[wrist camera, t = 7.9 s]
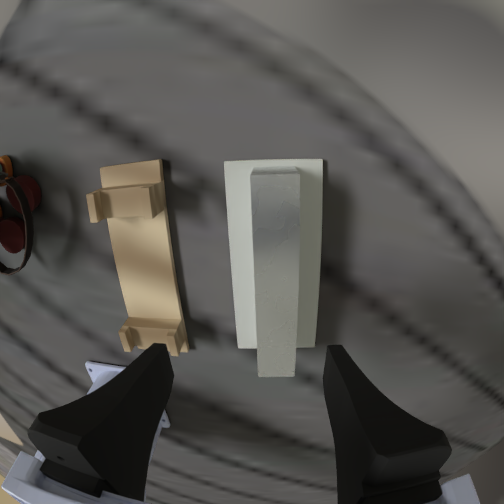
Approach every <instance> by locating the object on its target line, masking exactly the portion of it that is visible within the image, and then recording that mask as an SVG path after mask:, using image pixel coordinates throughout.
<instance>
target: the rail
mask: <svg viewBox="0 0 504 504" xmlns="http://www.w3.org/2000/svg"><path fill="white" fill-rule="evenodd" d="M250 187H251V211H252V236H253V260H254V285H255V309H256V334H257V359H258V377H292V376H294V373H295V357H296V339H297V318H298V292H299V255H300V173H299V172H298V171H297V169H296V168H295V166H270V167H254V168H253V170H252V172H251V174H250Z"/></svg>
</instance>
